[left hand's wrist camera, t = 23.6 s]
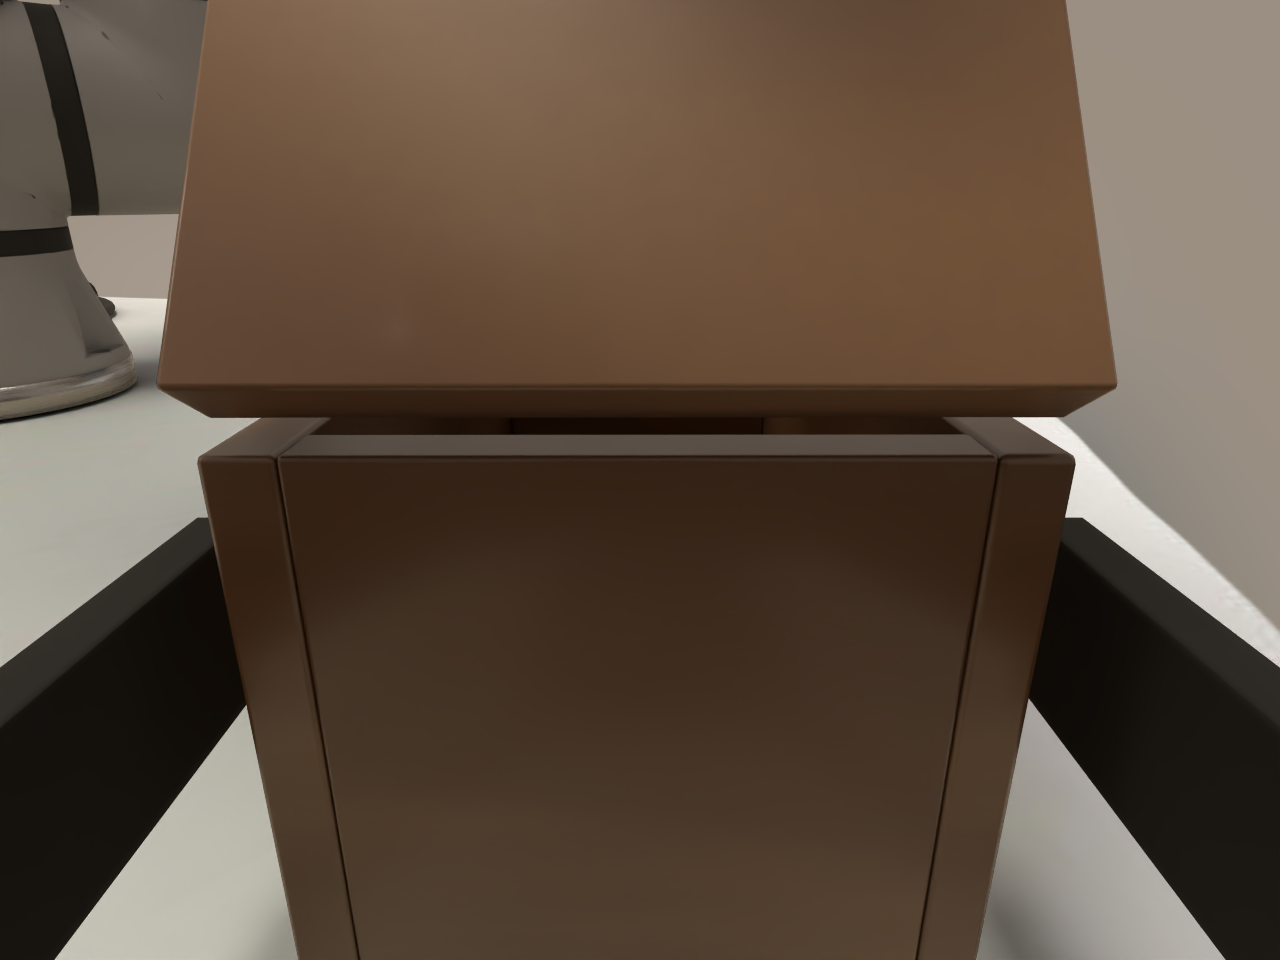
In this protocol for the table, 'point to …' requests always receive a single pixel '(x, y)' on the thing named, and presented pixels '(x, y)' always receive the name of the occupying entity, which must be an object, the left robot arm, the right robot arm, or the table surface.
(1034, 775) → the table surface
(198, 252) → the lid
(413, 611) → the chest
